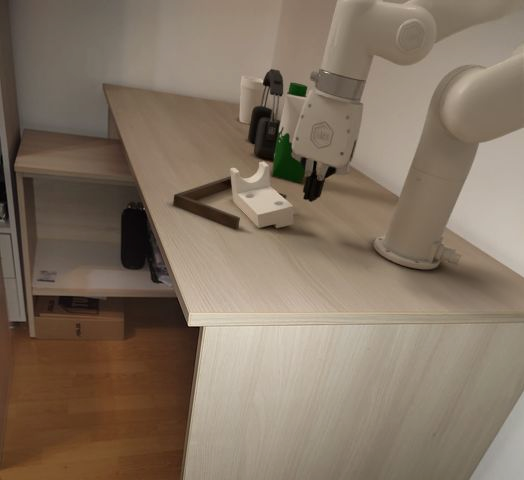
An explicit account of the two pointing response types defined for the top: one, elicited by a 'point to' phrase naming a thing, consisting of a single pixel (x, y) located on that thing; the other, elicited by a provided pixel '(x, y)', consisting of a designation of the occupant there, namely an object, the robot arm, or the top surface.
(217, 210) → the bay
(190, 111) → the top surface
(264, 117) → the headphones
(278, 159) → the milk carton
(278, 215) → the bracket
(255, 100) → the foam cup
